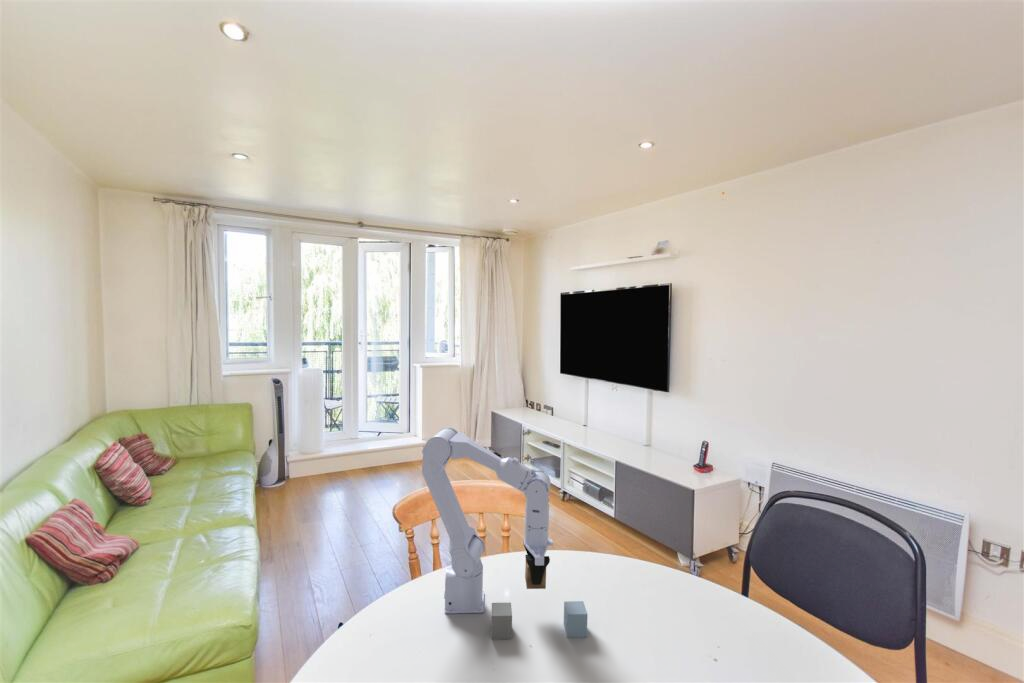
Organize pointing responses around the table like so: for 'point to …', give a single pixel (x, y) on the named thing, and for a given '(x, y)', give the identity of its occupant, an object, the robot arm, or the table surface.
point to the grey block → (501, 621)
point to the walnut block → (529, 582)
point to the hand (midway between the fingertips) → (535, 577)
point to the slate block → (575, 619)
